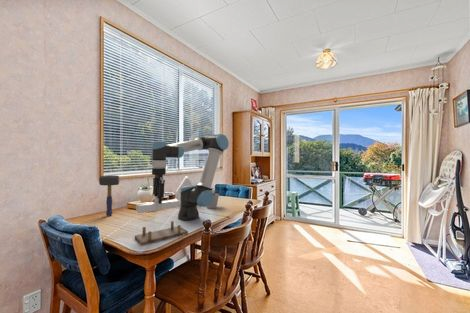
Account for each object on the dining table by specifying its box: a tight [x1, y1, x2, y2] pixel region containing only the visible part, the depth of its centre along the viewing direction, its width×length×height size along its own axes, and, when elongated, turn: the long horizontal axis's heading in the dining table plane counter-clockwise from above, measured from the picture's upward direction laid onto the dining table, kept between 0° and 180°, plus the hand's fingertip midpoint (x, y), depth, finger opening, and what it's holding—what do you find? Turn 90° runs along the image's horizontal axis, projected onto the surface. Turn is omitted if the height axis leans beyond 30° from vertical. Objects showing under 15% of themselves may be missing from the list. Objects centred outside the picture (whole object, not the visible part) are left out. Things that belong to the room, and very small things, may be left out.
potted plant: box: [206, 187, 220, 210], centre depth 190 cm, size 13×14×20 cm
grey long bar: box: [135, 199, 180, 214], centre depth 125 cm, size 23×6×4 cm, turn 128°
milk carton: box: [175, 175, 195, 206], centre depth 205 cm, size 19×15×25 cm
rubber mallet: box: [98, 175, 120, 217], centre depth 161 cm, size 12×8×30 cm, turn 109°
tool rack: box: [134, 220, 189, 246], centre depth 122 cm, size 26×12×6 cm, turn 130°
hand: (158, 208), depth 125 cm, fingers closed on grey long bar, 4 cm apart
